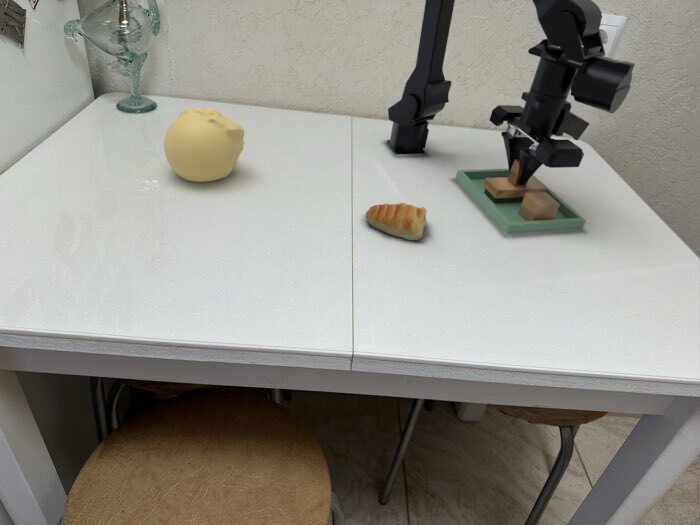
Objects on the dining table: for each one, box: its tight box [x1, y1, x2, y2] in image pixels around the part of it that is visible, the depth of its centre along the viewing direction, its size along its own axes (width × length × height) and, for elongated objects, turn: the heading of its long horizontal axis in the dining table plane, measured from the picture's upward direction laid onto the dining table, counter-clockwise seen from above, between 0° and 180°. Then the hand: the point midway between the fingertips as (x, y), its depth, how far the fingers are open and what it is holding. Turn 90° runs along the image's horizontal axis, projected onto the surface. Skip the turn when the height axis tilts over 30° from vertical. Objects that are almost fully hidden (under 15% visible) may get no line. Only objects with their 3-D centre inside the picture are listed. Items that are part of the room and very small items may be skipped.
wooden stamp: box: [483, 159, 549, 203], centre depth 86 cm, size 10×4×7 cm, turn 106°
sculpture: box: [163, 107, 245, 183], centre depth 80 cm, size 12×12×11 cm
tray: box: [455, 168, 586, 234], centre depth 86 cm, size 15×19×2 cm
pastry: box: [365, 202, 427, 241], centre depth 76 cm, size 9×7×4 cm
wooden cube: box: [518, 192, 560, 221], centre depth 81 cm, size 4×4×4 cm
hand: (516, 180), depth 86 cm, fingers closed on wooden stamp, 2 cm apart
